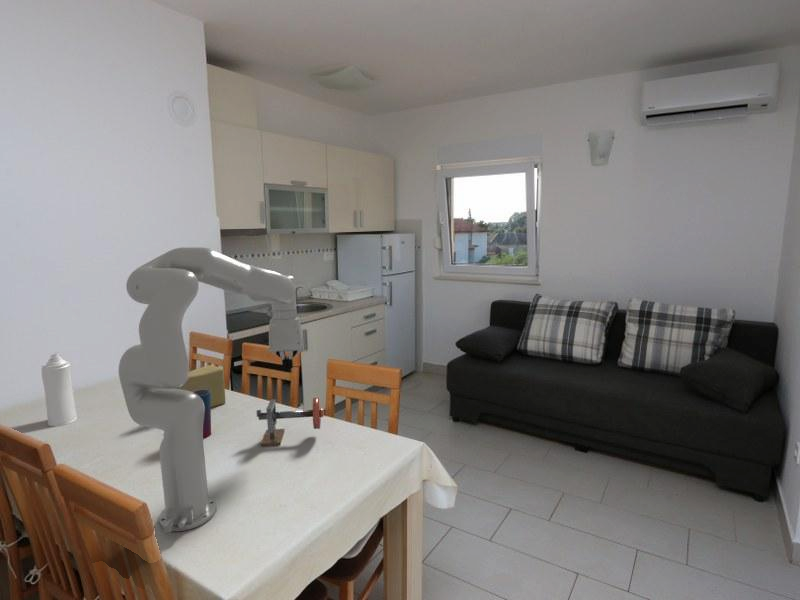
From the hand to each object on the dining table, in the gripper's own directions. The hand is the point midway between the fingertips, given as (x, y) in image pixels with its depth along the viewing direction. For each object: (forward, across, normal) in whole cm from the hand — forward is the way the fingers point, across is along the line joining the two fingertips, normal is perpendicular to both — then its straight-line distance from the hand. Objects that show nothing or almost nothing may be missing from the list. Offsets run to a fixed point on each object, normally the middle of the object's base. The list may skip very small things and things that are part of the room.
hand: (287, 370), depth 150 cm
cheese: (+23, -40, +29) cm, 55 cm away
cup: (+23, -30, +6) cm, 38 cm away
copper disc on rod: (+20, 0, 0) cm, 20 cm away
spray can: (+23, -86, +27) cm, 93 cm away
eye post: (+23, -6, 0) cm, 24 cm away
